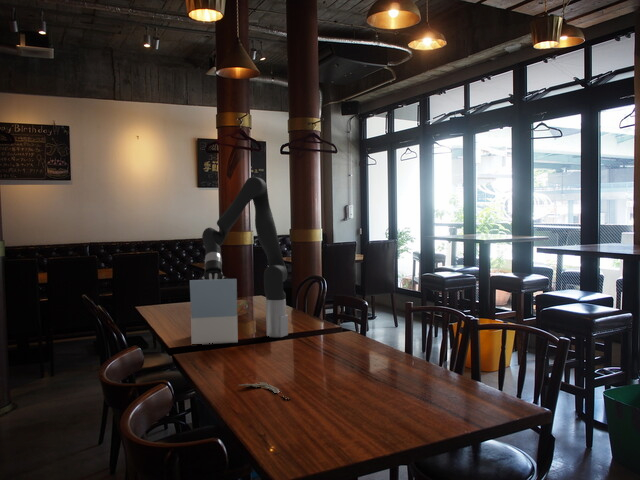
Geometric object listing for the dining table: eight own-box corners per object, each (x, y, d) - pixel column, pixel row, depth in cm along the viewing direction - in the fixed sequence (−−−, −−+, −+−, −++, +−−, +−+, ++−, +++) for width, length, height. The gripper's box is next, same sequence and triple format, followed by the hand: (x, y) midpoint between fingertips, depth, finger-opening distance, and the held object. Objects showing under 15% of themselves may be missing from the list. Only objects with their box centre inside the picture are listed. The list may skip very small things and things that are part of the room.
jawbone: (255, 384, 170) (255, 378, 170) (305, 396, 159) (305, 389, 159) (237, 390, 163) (237, 383, 163) (288, 403, 152) (289, 396, 152)
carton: (193, 335, 237) (192, 310, 236) (236, 333, 241) (235, 308, 240) (191, 345, 219) (190, 317, 219) (237, 342, 223) (237, 315, 223)
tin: (230, 317, 279) (230, 302, 279) (226, 316, 281) (226, 302, 281) (249, 313, 291) (249, 298, 291) (245, 312, 293) (245, 298, 292)
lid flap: (189, 280, 212) (189, 280, 212) (236, 278, 216) (236, 279, 216) (191, 317, 219) (191, 318, 218) (236, 315, 223) (236, 315, 222)
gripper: (198, 259, 224) (197, 291, 213) (228, 258, 227) (228, 290, 216) (198, 269, 230) (198, 301, 219) (228, 269, 232) (228, 300, 221)
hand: (213, 295), depth 217 cm, fingers closed
